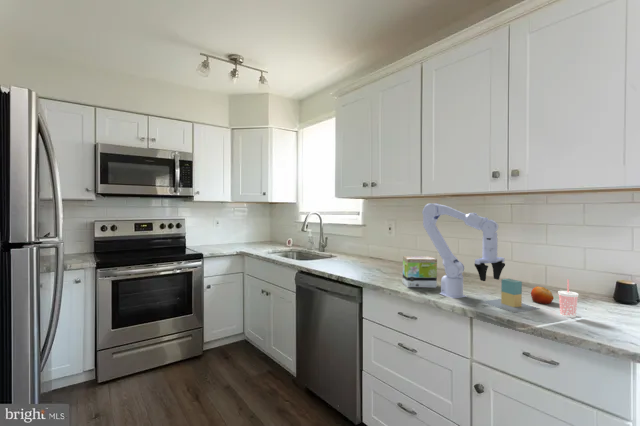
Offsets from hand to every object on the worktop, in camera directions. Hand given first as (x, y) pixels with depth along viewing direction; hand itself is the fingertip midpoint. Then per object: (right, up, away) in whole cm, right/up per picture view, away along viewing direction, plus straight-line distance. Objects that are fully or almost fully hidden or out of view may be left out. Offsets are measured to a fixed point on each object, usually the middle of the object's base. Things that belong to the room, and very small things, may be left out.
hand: (489, 279), depth 142 cm
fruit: (+20, -10, -3) cm, 23 cm away
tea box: (-21, -9, +30) cm, 38 cm away
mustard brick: (+6, -9, -6) cm, 12 cm away
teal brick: (+6, -4, -7) cm, 9 cm away
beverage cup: (+19, -10, -20) cm, 29 cm away
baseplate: (+5, -10, -7) cm, 13 cm away
